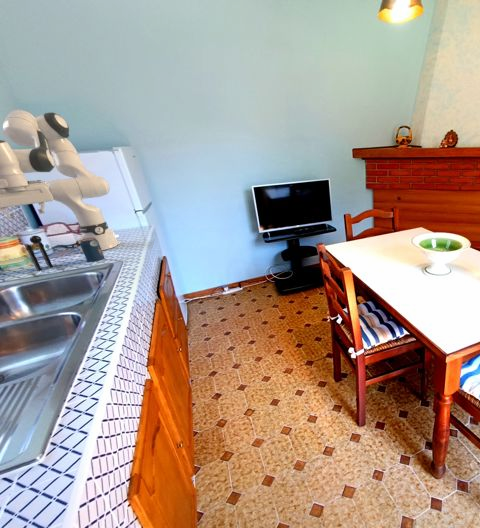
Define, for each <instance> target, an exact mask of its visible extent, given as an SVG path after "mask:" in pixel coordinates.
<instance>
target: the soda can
mask: <svg viewBox="0 0 480 528" xmlns="http://www.w3.org/2000/svg"><path fill="white" fill-rule="evenodd" d="M80 245H81V248H82V250H83V252H82V253H83V255H84V257H85V260H86V262H87V263H95V262H99V261H102V260H104V259H105V258H106V257H105V255H104V253H103V250H101V247H100V245H99V242H98V240H96V239H95V238H86V239H83V240H81V243H80Z"/></svg>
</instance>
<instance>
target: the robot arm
mask: <svg viewBox="0 0 480 528" xmlns="http://www.w3.org/2000/svg"><path fill="white" fill-rule="evenodd" d="M2 132H3V134H4V136H5V137H6V138H7V139H8V140H10V141H11V142H12V143H14V144H16V145H19V146H23V147H32V148H18V149H17V148H16V149H13V148H12V147H11V146H10V143H8V141H6V140H2V139H0V211H1V212H2V213H4V214H5V215H7V217H8V219H15V217H16V216H14V213H12V212H11V213H10V212H8V211H7V210H8V209H7V208H12V207H18V206H25V205H33V204H38V205H39V206H40V207H39V209H37V211H38V214H40V215H41V214H45V213H46V212H45V210H44V209H45V206H46V203H48V202H53V201H55V202H59V203H61V204H62V205H65V206H66V207H67V208H69V209H70V210H71V211H72V212H73V214H74V215H75V218H76V220H77V222H78V224H79V226H78V227H79V230H80V233H81V234H80V238H79V239H77V240H76V241H75V243H72V244H71V246H68V245H65V244H57V245H54V248H57V247H63V248H65V249H72V248H74V247H75V246H77V247H78V250H80V252H82V253H83V250H82V248H81V245H80V243H81V240H83V239H86V238H95V239H96V240H98V242H99V245H100V247H101V250H102V251H105V250H110V249H112V248H116V247H117V246H118V245H120V244H122V242H121V241H120V240H118V239H117V238H118V237H119V235H118V234H115V233H114V231H113V230H112V229H109V224H108V223H107V221H106V220H105V218H104V215H103V212H102V210H101V208H100V207H99V206H96V205H93V204H88V203H86V202H83V200H85V199H92V198H99V197H103V196H106V195H108V194H109V192H110V187H111V186H110V184H109V183H108V181H107V180H106V179H105V178H103V177H102V176H99V175H96V174H94V173H92V172H90V170H88V169H87V167H85V165H84V163H83V161H82V160H81V157H80V155H79V153H78V150H77V148H75V145H73V143H72V142H71V141H70V140H69V137H70V127H69V124H68V123H67V121H66V120H65V119H64V117H62V116H61V115H60V114H58V113H55V112H45V113H43V114H41V115H38V116H34V115H33V114H32V113H30V112H29V111H27V110H24V109H14V110H11V111H10V112H9V113H8V114H7V115H6V116H5V118H4V120H3V123H2ZM55 168H56V171H58V172H59V173H60V174H62V175H63V176H65V177H68V178H58V179H55V180H51V181H48V182H47V181H44V180H41V179H37V180H27V178H26V175H25V174H30V173H31V174H32V173H51V171H53V169H55Z"/></svg>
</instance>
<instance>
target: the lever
mask: <svg viewBox="0 0 480 528" xmlns="http://www.w3.org/2000/svg"><path fill="white" fill-rule="evenodd" d="M29 242H31V244H29V245H30V246H31V248H32V250H33V252H34V251H35V252H36V251H40V249H39V246H38V243H40V242H42V238H41V236H39V235H32V236H31V237H29Z"/></svg>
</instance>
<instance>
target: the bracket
mask: <svg viewBox="0 0 480 528" xmlns="http://www.w3.org/2000/svg"><path fill="white" fill-rule="evenodd" d="M23 245H24V249H25V251H27V253H28V256H29V257H30V259H31V261H32V264H33V265H34V267H35V269H36V270H37V271H38V272H40V271H43V269H42V267H41V265H40V262H39V260H38V258H37V257H36V254H35V252H34V251H33V250H32V248H31V246H30V244H29V243H24V244H23ZM38 246H39V252H40V254H41V255H42V257H43V259H44V262H45V264H46V266H47V267H48V268H50V269H51V268H54V265H53V264H52V262H51V259H50V257H49V254H48V253H47V250H46V248H45V245H44V243H43V242H42V241H41V242H40V243H38Z"/></svg>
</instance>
